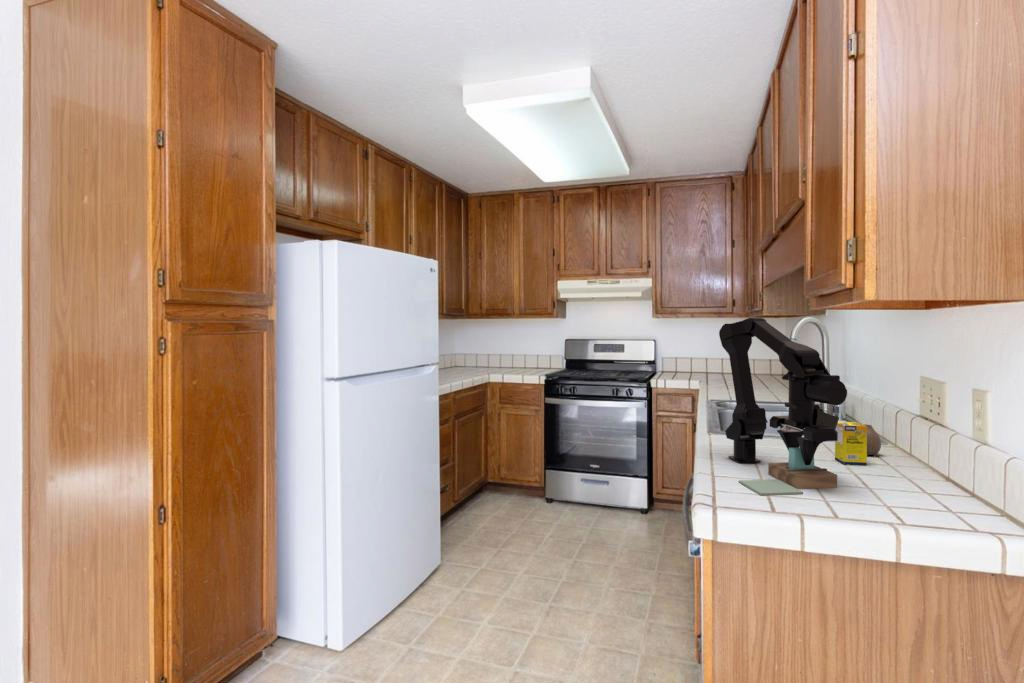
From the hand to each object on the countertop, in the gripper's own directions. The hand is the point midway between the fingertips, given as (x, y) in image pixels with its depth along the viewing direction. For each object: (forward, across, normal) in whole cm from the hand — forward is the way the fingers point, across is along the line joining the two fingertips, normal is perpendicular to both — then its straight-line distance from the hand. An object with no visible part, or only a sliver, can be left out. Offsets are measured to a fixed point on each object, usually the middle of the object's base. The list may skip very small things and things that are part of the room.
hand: (801, 462), depth 129 cm
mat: (+4, -5, +11) cm, 13 cm away
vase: (+5, +23, -35) cm, 42 cm away
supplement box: (+5, +15, -24) cm, 29 cm away
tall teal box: (+5, 0, 0) cm, 5 cm away
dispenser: (+4, 0, 0) cm, 4 cm away
